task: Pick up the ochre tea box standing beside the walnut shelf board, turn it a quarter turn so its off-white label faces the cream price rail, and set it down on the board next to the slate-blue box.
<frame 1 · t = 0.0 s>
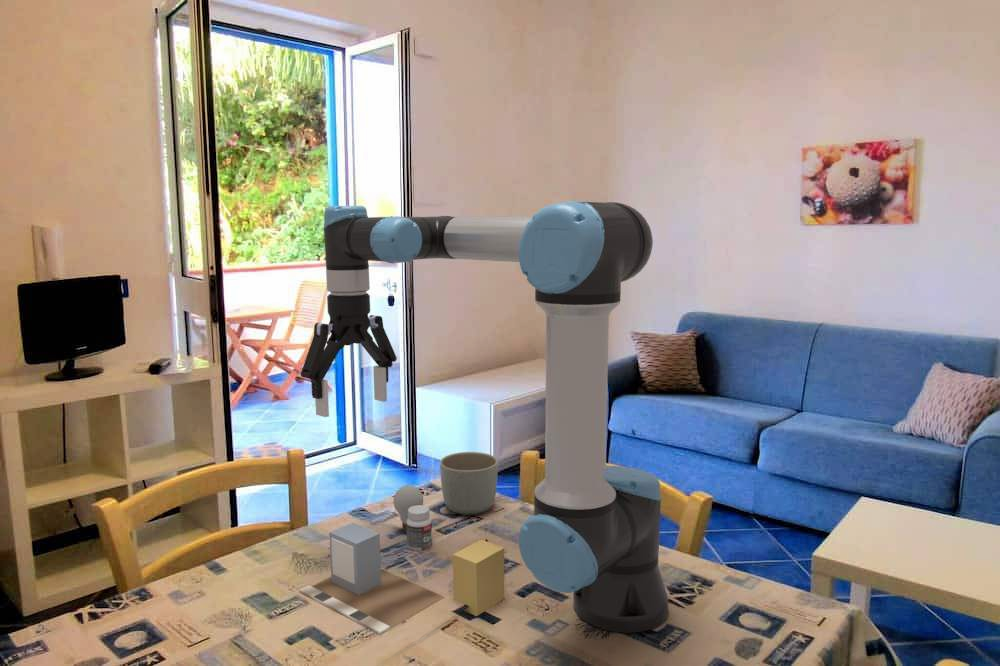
hand: (352, 407, 136), 28 cm above the table, fingers open, 13 cm apart
pill bottle: (419, 551, 140), on the table
light bulb: (409, 534, 147), on the table
tea box: (479, 602, 122), on the table
yellow walkie talkie: (484, 562, 136), on the table
slate box: (356, 582, 126), point 1 cm above the table, touching shelf board
planter: (469, 509, 160), on the table
shelf board: (371, 601, 122), on the table
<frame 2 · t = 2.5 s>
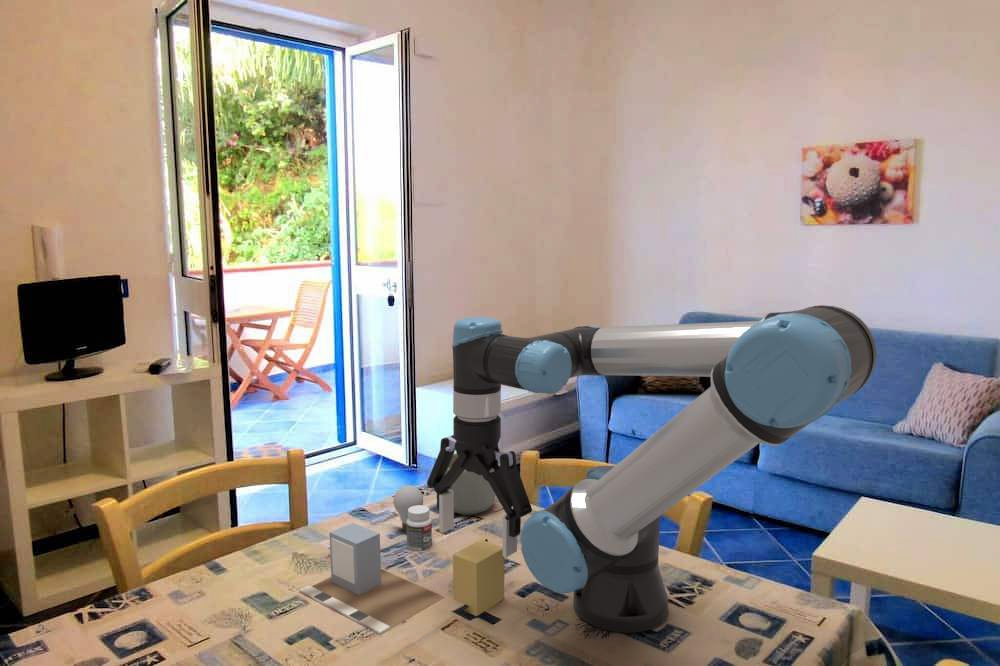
hand: (477, 541, 120), 10 cm above the table, fingers open, 13 cm apart
nothing on the table moved.
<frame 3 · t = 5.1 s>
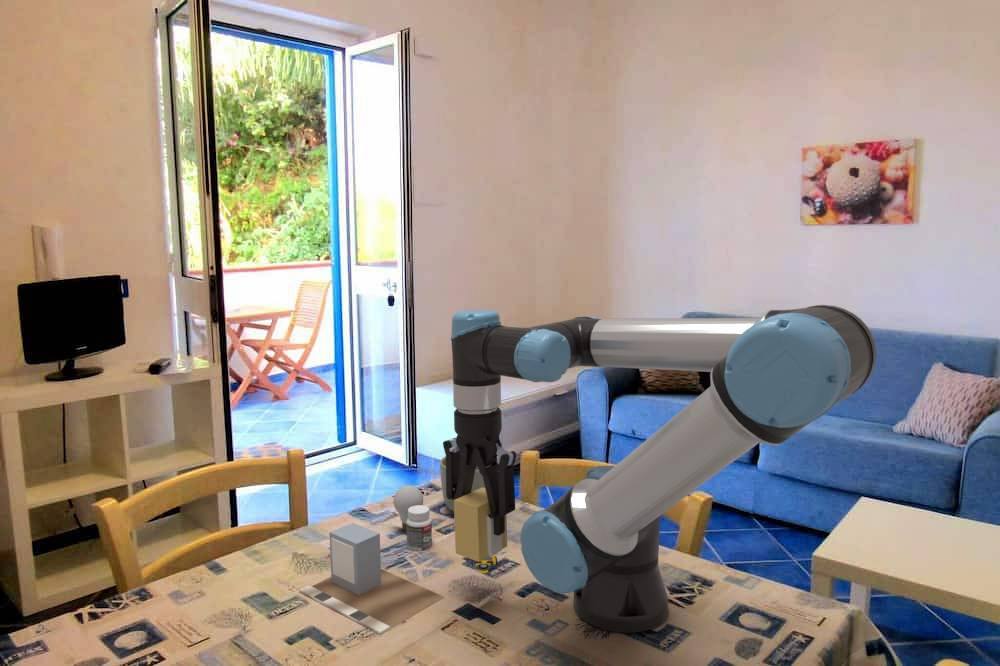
hand: (481, 547, 120), 10 cm above the table, fingers closed on tea box, 5 cm apart
tea box: (481, 549, 120), point 9 cm above the table, touching gripper
everything else where it was.
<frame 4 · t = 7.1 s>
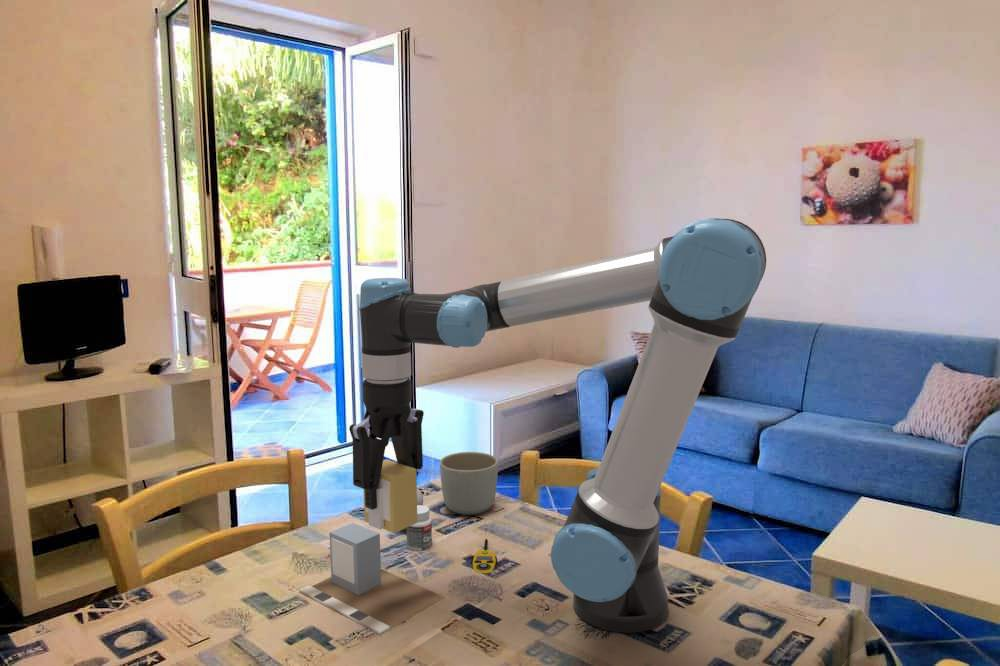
hand: (390, 520, 118), 15 cm above the table, fingers closed on tea box, 5 cm apart
tea box: (390, 521, 118), point 15 cm above the table, touching gripper
everything else where it was.
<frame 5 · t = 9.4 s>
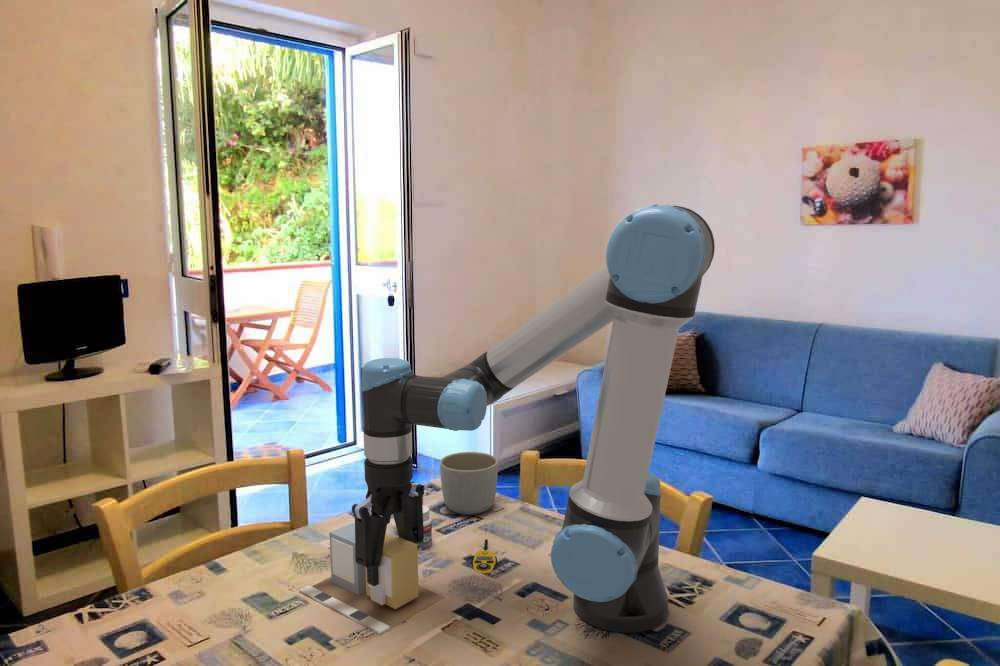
hand: (391, 593, 120), 2 cm above the table, fingers closed on tea box, 5 cm apart
tea box: (392, 595, 120), point 2 cm above the table, touching gripper
everything else where it was.
when the fingers open (2 cm above the table, at t = 9.7 s): tea box stays where it is, resting on shelf board.
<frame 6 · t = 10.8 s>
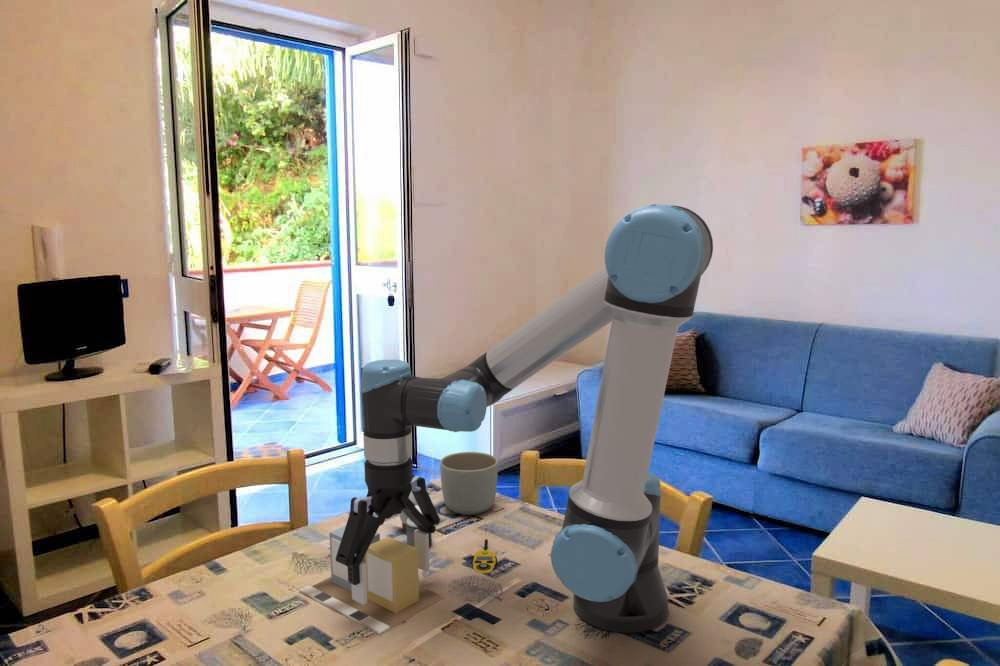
hand: (392, 584, 120), 4 cm above the table, fingers open, 13 cm apart
tea box: (392, 599, 120), point 1 cm above the table, touching shelf board
everything else where it was.
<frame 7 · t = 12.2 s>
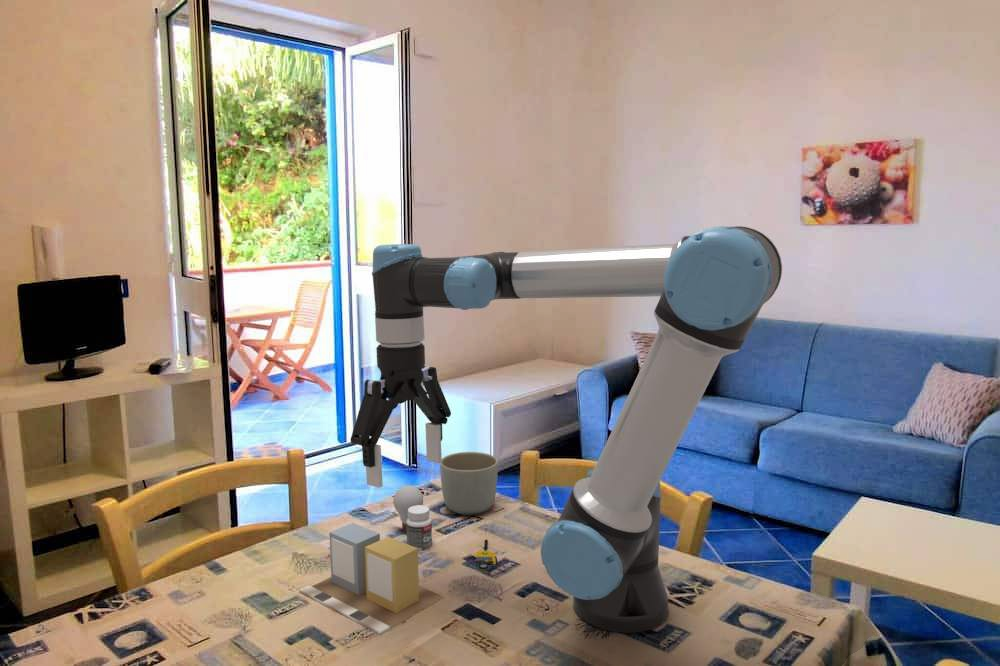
hand: (405, 473, 119), 22 cm above the table, fingers open, 13 cm apart
nothing on the table moved.
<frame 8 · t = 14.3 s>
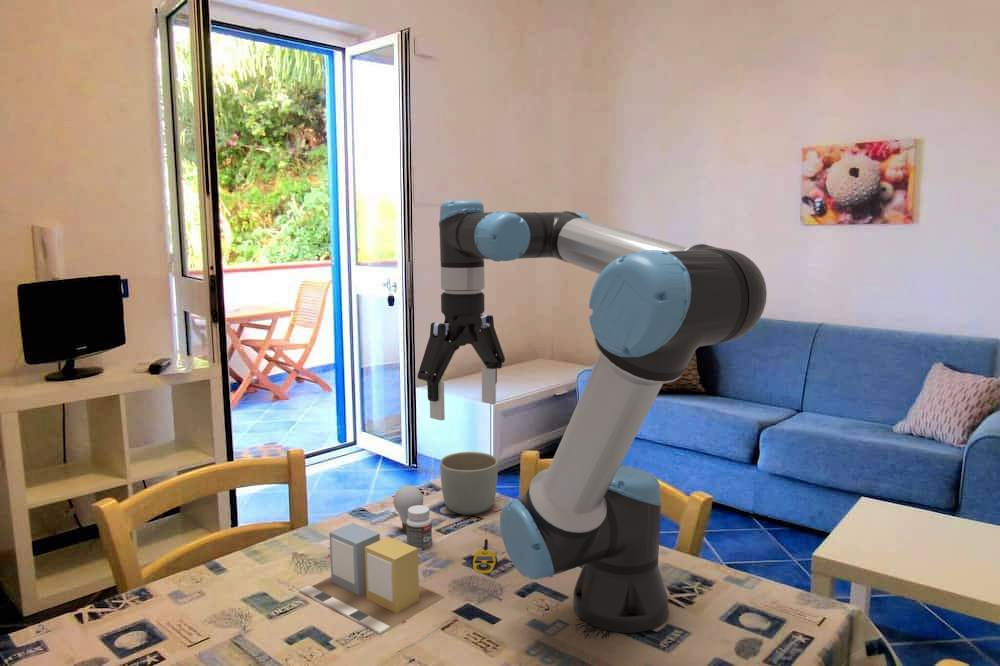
hand: (464, 410, 131), 29 cm above the table, fingers open, 13 cm apart
nothing on the table moved.
at the end: tea box inside the target area on the shelf board (0.1 cm from its centre), point 1.2 cm above the shelf board's base; tea box tilted 0°; the gripper is holding nothing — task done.
